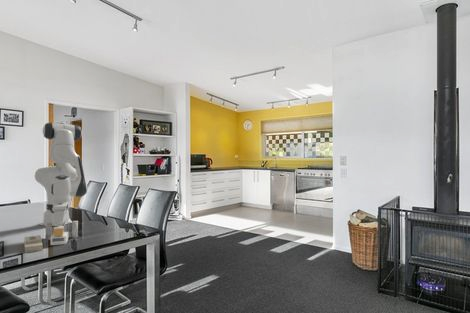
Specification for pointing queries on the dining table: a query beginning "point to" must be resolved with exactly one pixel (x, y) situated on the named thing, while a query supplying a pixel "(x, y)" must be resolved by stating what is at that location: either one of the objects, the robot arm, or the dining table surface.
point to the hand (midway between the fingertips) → (61, 228)
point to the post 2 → (74, 229)
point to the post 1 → (48, 231)
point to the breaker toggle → (58, 231)
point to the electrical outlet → (33, 243)
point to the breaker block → (59, 239)
